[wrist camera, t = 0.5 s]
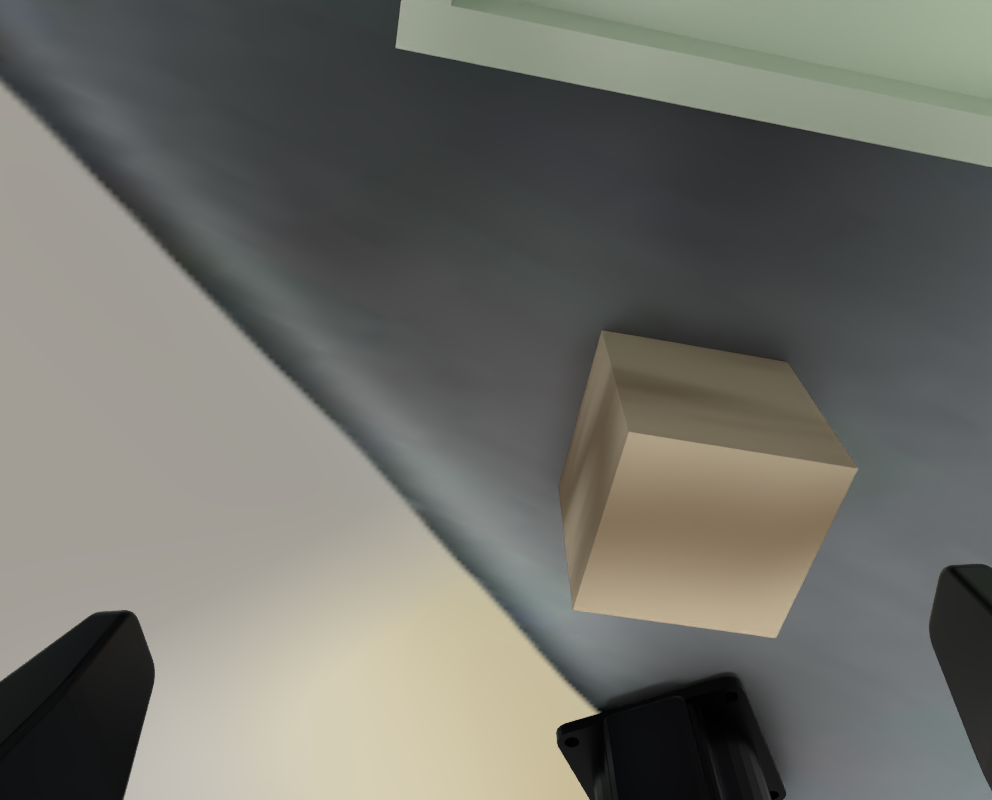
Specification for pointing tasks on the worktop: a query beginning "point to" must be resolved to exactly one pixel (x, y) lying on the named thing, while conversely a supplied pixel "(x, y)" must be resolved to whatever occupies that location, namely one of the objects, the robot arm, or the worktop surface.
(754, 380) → the birch block
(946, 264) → the worktop surface
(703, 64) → the sage bin
